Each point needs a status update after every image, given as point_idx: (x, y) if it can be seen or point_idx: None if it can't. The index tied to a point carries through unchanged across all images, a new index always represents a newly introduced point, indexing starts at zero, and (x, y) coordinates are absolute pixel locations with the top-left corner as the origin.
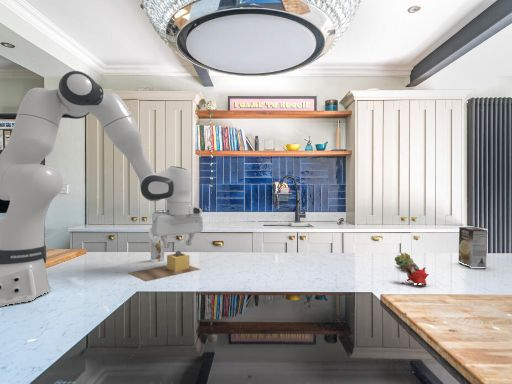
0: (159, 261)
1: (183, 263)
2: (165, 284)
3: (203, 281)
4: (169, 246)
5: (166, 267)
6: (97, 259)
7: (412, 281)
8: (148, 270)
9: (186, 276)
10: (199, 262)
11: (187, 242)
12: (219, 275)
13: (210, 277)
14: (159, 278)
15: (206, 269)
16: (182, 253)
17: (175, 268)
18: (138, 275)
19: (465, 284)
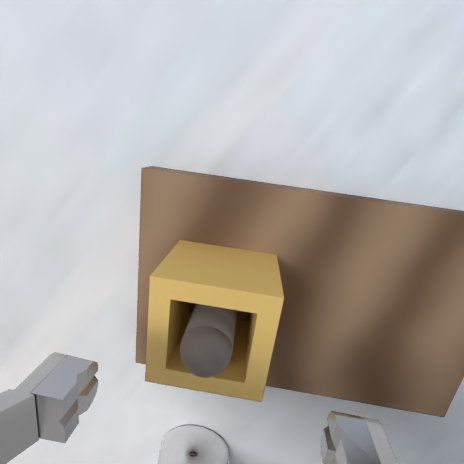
0: (200, 449)
1: (214, 261)
2: (435, 153)
3: (260, 5)
4: (335, 419)
5: None
6: None
7: None
8: (350, 376)
9: None
10: (29, 331)
11: (78, 396)
12: (101, 28)
13: (170, 42)
14: (443, 212)
15: (80, 201)
16: (148, 359)
17: (276, 262)
18: (454, 345)
19: None
